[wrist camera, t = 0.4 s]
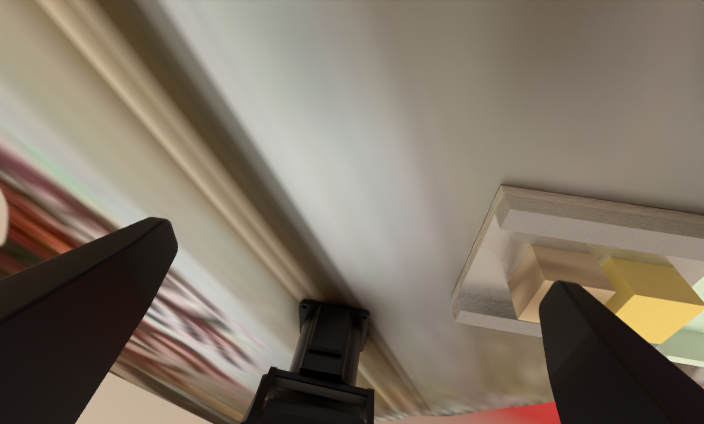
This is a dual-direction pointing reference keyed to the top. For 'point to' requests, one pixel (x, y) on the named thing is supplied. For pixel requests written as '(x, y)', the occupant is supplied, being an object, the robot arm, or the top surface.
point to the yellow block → (651, 298)
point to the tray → (687, 338)
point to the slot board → (567, 246)
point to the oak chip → (554, 278)
